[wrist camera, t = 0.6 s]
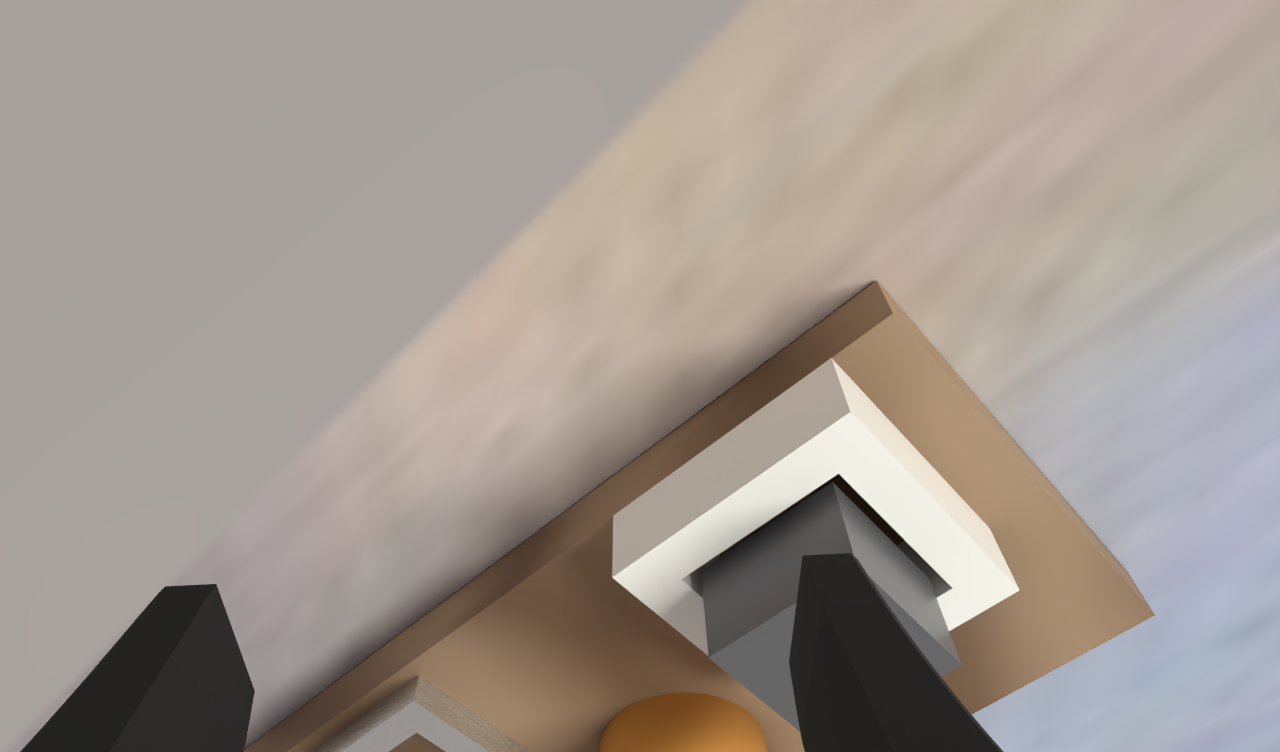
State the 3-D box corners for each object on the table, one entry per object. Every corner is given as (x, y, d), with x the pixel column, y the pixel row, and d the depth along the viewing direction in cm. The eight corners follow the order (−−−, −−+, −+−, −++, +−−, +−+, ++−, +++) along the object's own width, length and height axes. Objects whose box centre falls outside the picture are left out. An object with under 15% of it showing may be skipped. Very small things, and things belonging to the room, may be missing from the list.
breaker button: (799, 655, 22) (817, 746, 20) (700, 570, 21) (708, 657, 19) (928, 577, 21) (961, 664, 19) (832, 482, 20) (856, 564, 18)
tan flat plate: (495, 928, 33) (490, 975, 32) (218, 768, 29) (198, 815, 27) (1127, 572, 25) (1154, 615, 24) (876, 280, 21) (893, 312, 20)
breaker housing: (779, 656, 24) (791, 723, 23) (613, 515, 22) (612, 578, 20) (989, 528, 22) (1019, 590, 21) (831, 358, 20) (849, 411, 18)
